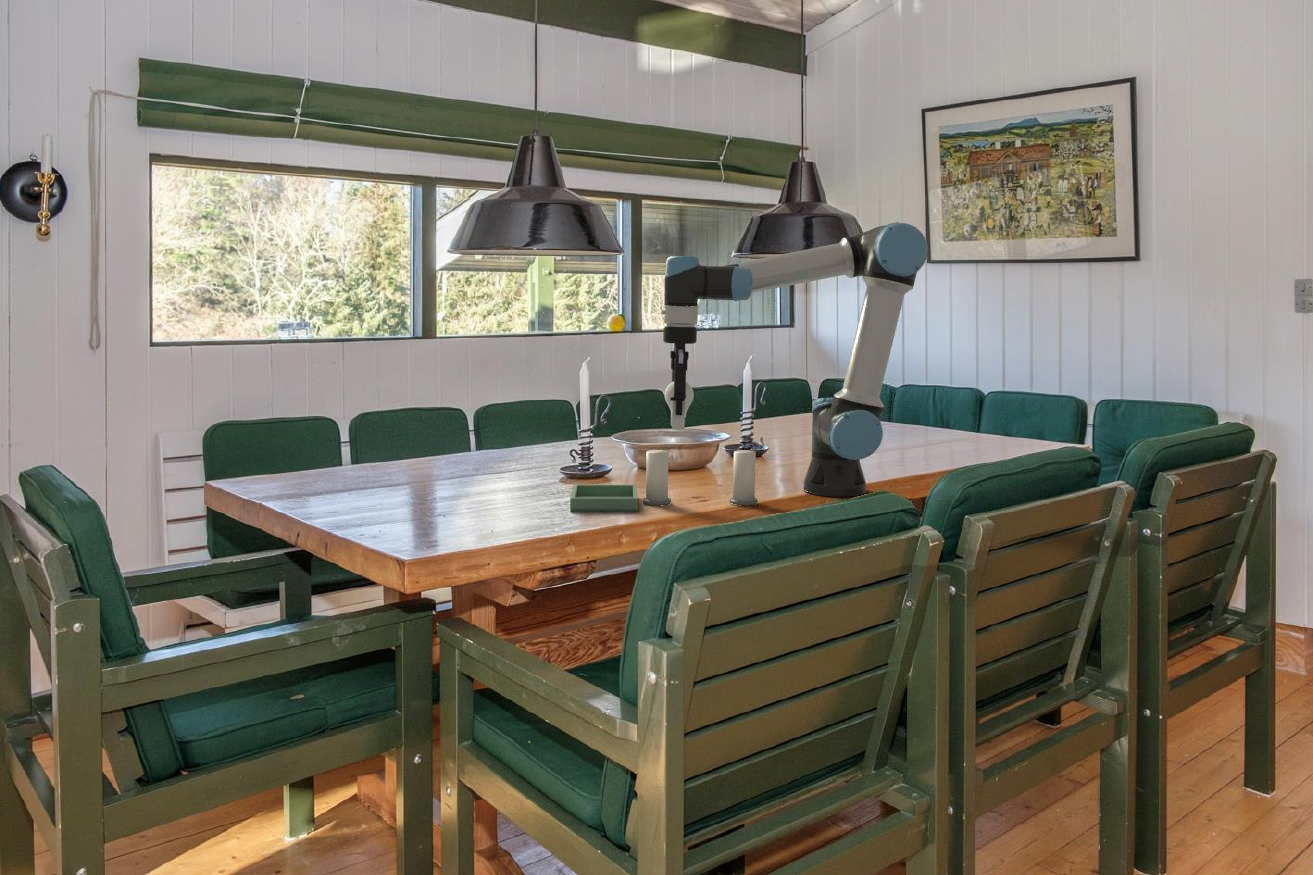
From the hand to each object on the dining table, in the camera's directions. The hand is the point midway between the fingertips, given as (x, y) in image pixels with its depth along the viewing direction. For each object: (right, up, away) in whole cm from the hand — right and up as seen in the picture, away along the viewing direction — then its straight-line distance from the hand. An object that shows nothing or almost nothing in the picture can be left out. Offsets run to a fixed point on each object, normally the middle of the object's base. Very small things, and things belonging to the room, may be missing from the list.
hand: (677, 427), depth 245 cm
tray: (-17, -18, +1) cm, 24 cm away
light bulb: (0, 0, 0) cm, 1 cm away
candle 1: (-5, -17, +3) cm, 18 cm away
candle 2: (+15, -17, +3) cm, 23 cm away
